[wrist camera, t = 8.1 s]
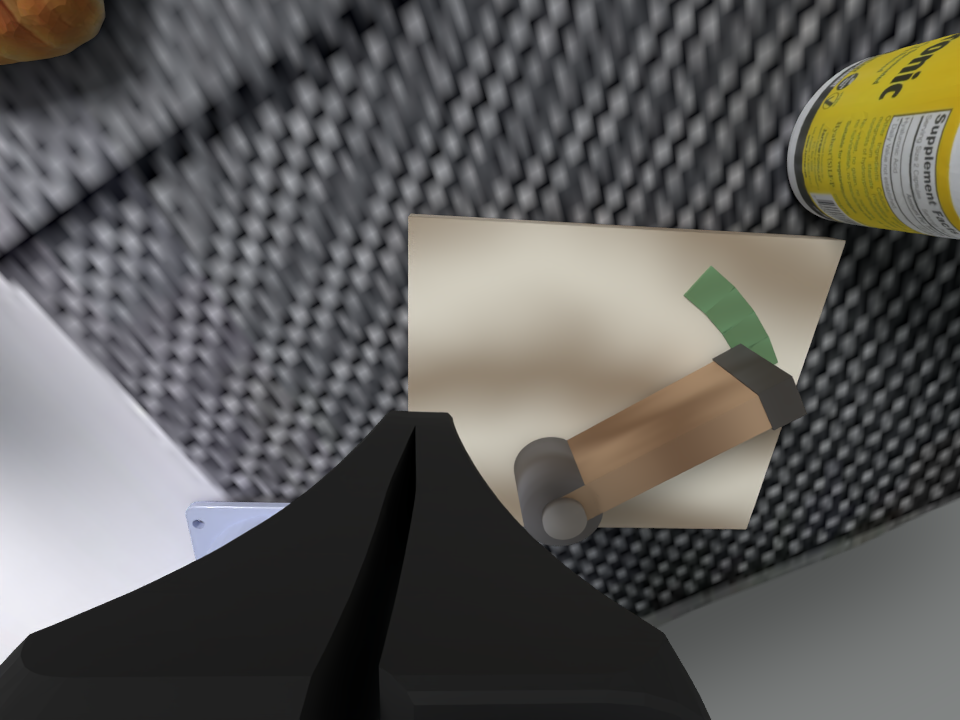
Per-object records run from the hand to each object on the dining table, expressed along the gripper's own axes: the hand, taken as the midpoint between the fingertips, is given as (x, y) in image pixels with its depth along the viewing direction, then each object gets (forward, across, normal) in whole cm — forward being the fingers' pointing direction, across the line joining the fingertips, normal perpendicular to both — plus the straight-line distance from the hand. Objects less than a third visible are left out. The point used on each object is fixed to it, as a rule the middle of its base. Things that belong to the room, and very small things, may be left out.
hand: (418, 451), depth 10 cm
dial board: (+9, -7, +3) cm, 12 cm away
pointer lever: (+8, -8, +4) cm, 12 cm away
